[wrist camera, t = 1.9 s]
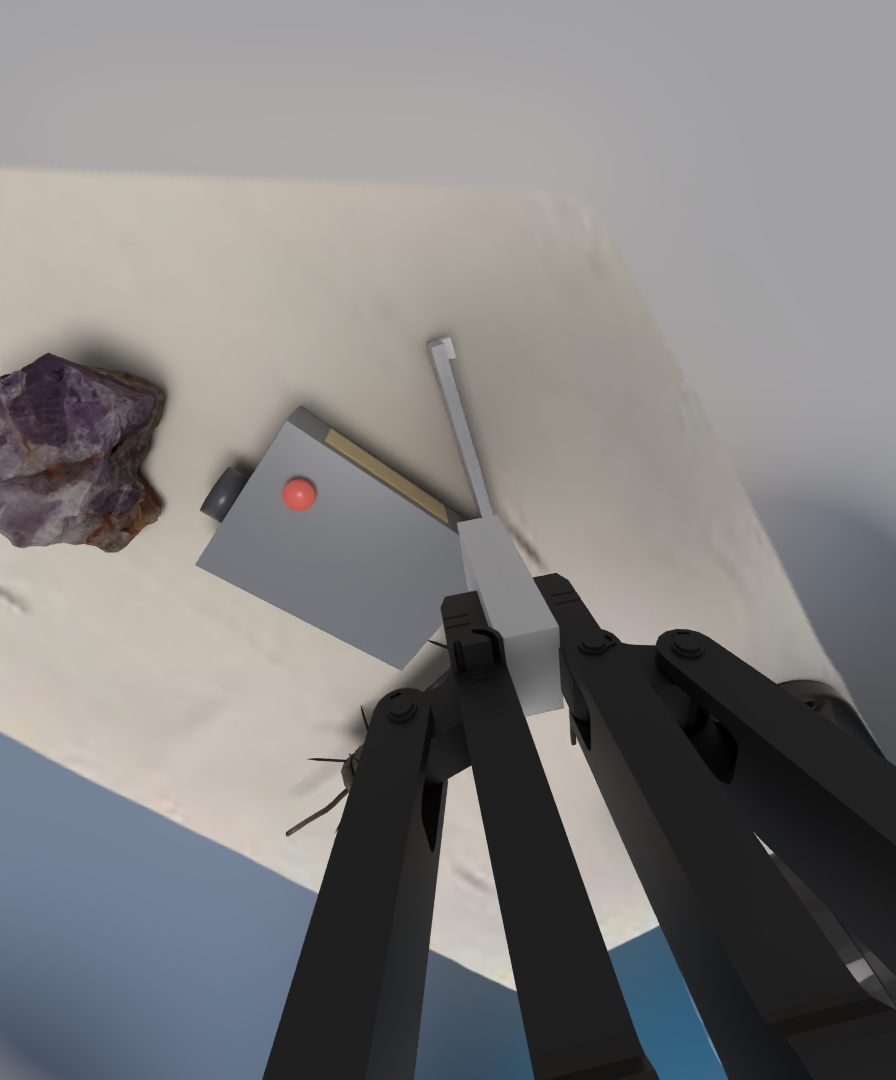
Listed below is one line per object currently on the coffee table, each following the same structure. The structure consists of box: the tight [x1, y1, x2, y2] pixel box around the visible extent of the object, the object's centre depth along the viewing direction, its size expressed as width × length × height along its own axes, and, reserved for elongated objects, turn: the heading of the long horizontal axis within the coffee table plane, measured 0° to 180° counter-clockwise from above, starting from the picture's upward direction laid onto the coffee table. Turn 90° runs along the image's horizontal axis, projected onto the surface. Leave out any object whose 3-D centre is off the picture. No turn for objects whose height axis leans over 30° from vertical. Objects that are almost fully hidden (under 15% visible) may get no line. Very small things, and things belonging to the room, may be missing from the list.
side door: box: [426, 336, 493, 518], centre depth 34 cm, size 15×2×5 cm, turn 17°
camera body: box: [195, 406, 469, 671], centre depth 35 cm, size 19×12×6 cm, turn 52°
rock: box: [0, 353, 165, 552], centre depth 29 cm, size 12×9×10 cm
